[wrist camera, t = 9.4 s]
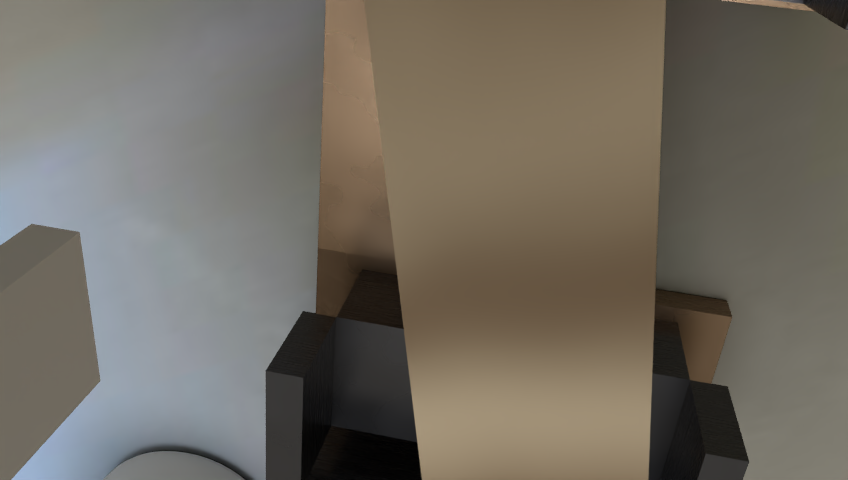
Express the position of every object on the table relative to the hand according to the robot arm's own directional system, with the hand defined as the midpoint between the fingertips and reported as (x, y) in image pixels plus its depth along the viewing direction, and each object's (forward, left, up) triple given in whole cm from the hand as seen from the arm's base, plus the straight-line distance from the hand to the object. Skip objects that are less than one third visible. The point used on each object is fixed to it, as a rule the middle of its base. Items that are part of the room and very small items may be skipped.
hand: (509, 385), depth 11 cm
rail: (+1, 0, -9) cm, 9 cm away
